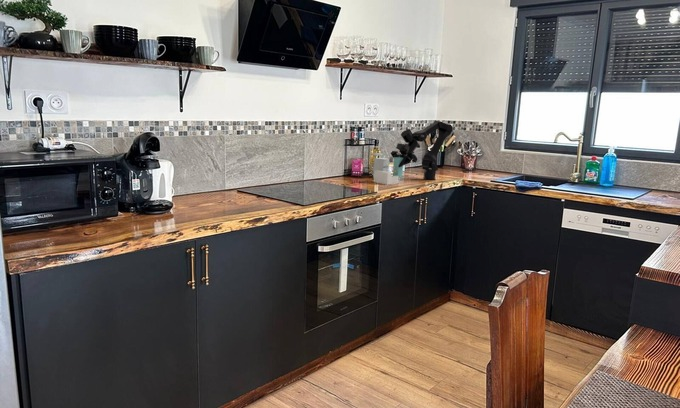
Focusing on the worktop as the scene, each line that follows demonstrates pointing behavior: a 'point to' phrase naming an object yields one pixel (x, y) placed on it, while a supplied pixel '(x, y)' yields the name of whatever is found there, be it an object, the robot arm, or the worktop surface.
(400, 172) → the teal rectangular block
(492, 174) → the worktop surface
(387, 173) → the socket
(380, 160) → the supplement box
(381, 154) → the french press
